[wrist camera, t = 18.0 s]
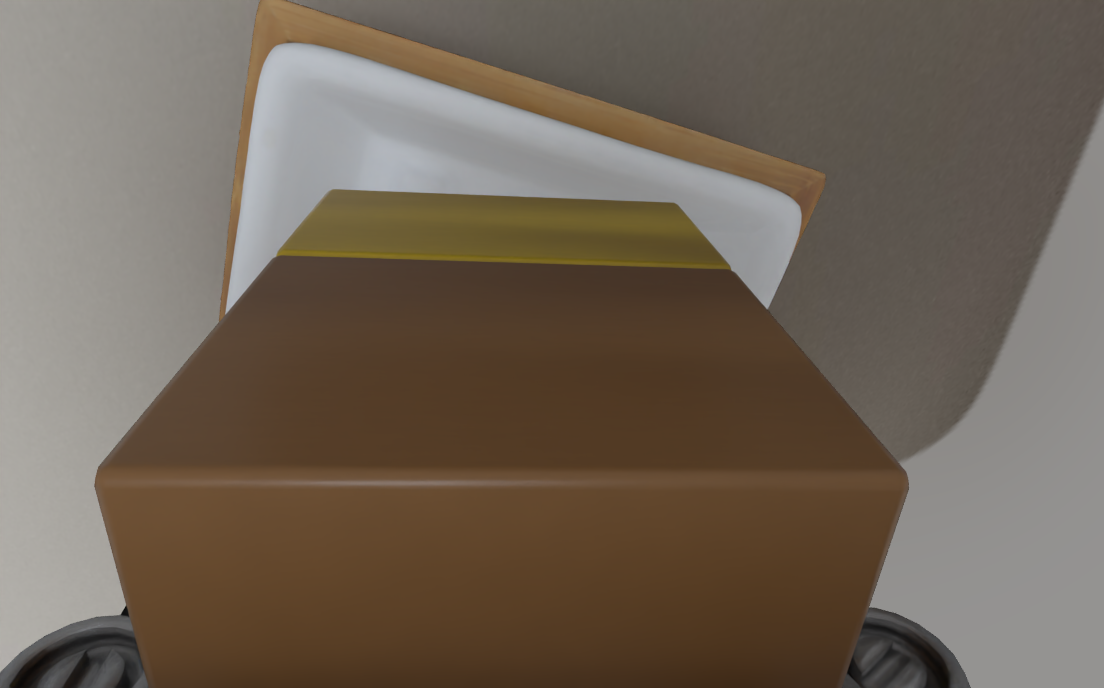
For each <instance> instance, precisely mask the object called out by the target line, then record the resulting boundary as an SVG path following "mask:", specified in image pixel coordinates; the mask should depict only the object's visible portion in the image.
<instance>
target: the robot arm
mask: <svg viewBox="0 0 1104 688" xmlns="http://www.w3.org/2000/svg"><path fill="white" fill-rule="evenodd" d="M0 688H149V687H148V683H147V680H146V676H145V672H144V668H143V665H142V661H141V657H140V654H139V650H138V646H137V642H136V639H135V635H134V631H133V628H132V624H131V620H130V616H129V613H128V609H127V605H126V607H125V608H124V610H123V612H122V613H121V615H117V616H103V617H95V618H91V619H87V620H84V621H80V622H76V623H73V624H70V625H68V626H65V627H63V628H61V629H59V630H57V631H54V632H52V633H50V634H48V635H46V636H44V637H43V638H41V639H40V640H38V641H37V642H35V643H34V644H32V645H31V646H29V647H28V648H26V649H25V650H23V651H22V652H20V653H19V654H18V655H17V656H16V657H15V658H14V659H13V660H12V661H11V662H10V663H9V664H8V665H7V666H6V667H5V668H4V669H3V670H2V671H1V673H0ZM842 688H971V687H970V685H969V682H968V680H967V677H966V675H965V673H964V671H963V670H962V668H961V666H960V664H959V662H958V661H957V659H956V657H955V656H954V654H953V653H952V652H951V651H950V650H949V649H948V648H947V647H946V646H945V645H944V644H943V643H942V642H941V641H940V640H939V639H938V638H937V637H936V636H934V635H933V634H931V633H930V632H929V631H927V630H926V629H925V628H923V627H922V626H920V625H919V624H917V623H915V622H913V621H911V620H909V619H907V618H904V617H903V616H900V615H898V614H896V613H892V612H888V611H885V610H881V609H877V608H869V609H868V612H867V614H866V617H865V620H864V623H863V626H862V629H861V632H860V635H859V638H858V641H857V644H856V647H855V650H854V653H853V656H852V659H851V662H850V665H849V668H848V671H847V674H846V677H845V680H844V683H843V686H842Z"/></svg>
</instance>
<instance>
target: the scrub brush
mask: <svg viewBox="0 0 1104 688" xmlns="http://www.w3.org/2000/svg"><path fill="white" fill-rule="evenodd" d="M95 490H96V494H97V497H98V501H99V505H100V509H101V512H102V516H103V520H104V523H105V527H106V531H107V535H108V538H109V542H110V546H111V549H112V553H113V557H114V561H115V564H116V568H117V572H118V575H119V579H120V583H121V587H122V590H123V594H124V598H125V602H126V605H127V609H128V613H129V616H130V620H131V624H132V628H133V631H134V635H135V639H136V642H137V646H138V650H139V654H140V657H141V661H142V665H143V668H144V672H145V676H146V680H147V683H148V687H149V688H842V686H843V683H844V680H845V677H846V674H847V671H848V668H849V665H850V662H851V659H852V656H853V653H854V650H855V647H856V644H857V641H858V638H859V635H860V632H861V629H862V626H863V623H864V620H865V617H866V614H867V612H868V609H869V606H870V603H871V600H872V597H873V594H874V591H875V588H876V585H877V582H878V579H879V576H880V573H881V570H882V567H883V564H884V561H885V558H886V555H887V552H888V549H889V546H890V543H891V540H892V537H893V534H894V532H895V528H896V525H897V523H898V520H899V517H900V514H901V510H902V508H903V505H904V502H905V499H906V496H907V493H908V490H909V483H908V477H907V473H906V471H905V470H904V469H903V468H902V467H901V465H900V464H899V463H898V462H897V461H896V459H895V458H894V457H893V456H892V455H891V454H890V452H889V451H888V450H887V449H886V448H885V447H884V445H883V444H882V443H881V442H880V441H879V440H878V438H877V437H876V436H875V435H874V434H873V433H872V431H871V430H870V429H869V428H868V427H867V426H866V424H865V423H864V422H863V421H862V420H861V419H860V417H859V416H858V415H857V414H856V413H855V412H854V410H853V409H852V408H851V407H850V406H849V405H848V403H847V402H846V401H845V400H844V399H843V398H842V396H841V395H840V394H839V393H838V392H837V391H836V389H835V388H834V387H833V386H832V385H831V384H830V382H829V381H828V380H827V379H826V378H825V377H824V375H823V374H822V373H821V372H820V371H819V369H818V368H817V367H816V366H815V365H814V364H813V362H812V361H811V360H810V359H809V358H808V357H807V355H806V354H805V353H804V352H803V351H802V350H801V348H800V347H799V346H798V345H797V344H796V343H795V341H794V340H793V339H792V338H791V337H790V336H789V334H788V333H787V332H786V331H785V330H784V329H783V327H782V326H781V325H780V324H779V323H778V322H777V320H776V319H775V318H774V317H773V316H772V315H771V313H770V312H769V311H768V310H767V309H766V308H765V306H764V305H763V304H762V303H761V302H760V301H759V299H758V298H757V297H756V296H755V295H754V294H753V292H752V291H751V290H750V289H749V288H748V287H747V285H746V284H745V283H744V282H743V281H742V280H741V278H740V277H739V276H738V275H737V274H736V273H735V272H734V271H731V267H730V265H729V264H728V262H727V261H726V260H725V259H724V258H723V257H722V255H721V254H720V253H719V252H718V251H717V250H716V249H715V247H714V246H713V245H712V244H711V243H710V242H709V240H708V239H707V238H706V237H705V236H704V235H703V233H702V232H701V231H700V230H699V229H698V228H697V226H696V225H695V224H694V223H693V222H692V221H691V219H690V218H689V217H688V216H687V215H686V214H685V212H684V211H683V210H682V209H681V208H680V207H679V205H677V204H675V203H671V202H646V201H620V200H595V199H570V198H544V197H519V196H494V195H468V194H443V193H418V192H393V191H367V190H342V189H332V190H330V191H328V192H327V193H326V194H325V195H324V197H323V198H322V199H321V200H320V201H319V203H318V204H317V205H316V206H315V207H314V209H313V210H312V211H311V212H310V213H309V215H308V216H307V217H306V218H305V219H304V220H303V222H302V223H301V224H300V225H299V226H298V228H297V229H296V230H295V231H294V232H293V234H292V235H291V236H290V237H289V238H288V240H287V241H286V242H285V243H284V244H283V246H282V247H281V248H280V249H279V250H278V252H277V255H276V257H274V258H272V260H271V261H270V262H269V263H268V264H267V266H266V267H265V268H264V269H263V270H262V272H261V273H260V274H259V275H258V276H257V277H256V279H255V280H254V281H253V282H252V283H251V285H250V286H249V287H248V288H247V289H246V291H245V292H244V293H243V294H242V295H241V297H240V298H239V299H238V300H237V301H236V303H235V304H234V305H233V306H232V307H231V309H230V310H229V311H228V312H227V313H226V315H225V316H224V317H223V318H222V319H221V321H220V322H219V323H218V324H217V325H216V327H215V328H214V329H213V330H212V331H211V333H210V334H209V335H208V336H207V337H206V339H205V340H204V341H203V342H202V343H201V345H200V346H199V347H198V348H197V349H196V351H195V352H194V353H193V354H192V355H191V357H190V358H189V359H188V360H187V361H186V363H185V364H184V365H183V366H182V367H181V369H180V370H179V371H178V372H177V373H176V375H175V376H174V377H173V378H172V379H171V380H170V382H169V383H168V384H167V385H166V386H165V388H164V389H163V390H162V391H161V392H160V394H159V395H158V396H157V397H156V398H155V400H154V401H153V402H152V403H151V404H150V406H149V407H148V408H147V409H146V410H145V412H144V413H143V414H142V415H141V416H140V418H139V419H138V420H137V421H136V422H135V424H134V425H133V426H132V427H131V428H130V430H129V431H128V432H127V433H126V434H125V436H124V437H123V438H122V439H121V440H120V442H119V443H118V444H117V445H116V446H115V448H114V449H113V450H112V451H111V452H110V454H109V455H108V456H107V457H106V458H105V460H104V461H103V462H102V463H101V464H100V466H99V467H98V470H97V474H96V477H95Z"/></svg>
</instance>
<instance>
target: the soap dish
mask: <svg viewBox="0 0 1104 688" xmlns="http://www.w3.org/2000/svg"><path fill="white" fill-rule="evenodd" d="M239 135H240V139H239V144H238V151H237V158H236V166H235V178H234V183H233V192H232V199H231V213H230V222H229V229H228V240H227V251H226V260H225V269H224V280H223V288H222V295H221V305H220V315H219V322H220V321H221V319H222V318H223V317H224V316H225V315H226V313H227V312H228V311H229V310H230V309H231V307H232V306H233V305H234V304H235V303H236V301H237V300H238V299H239V298H240V297H241V295H242V294H243V293H244V292H245V291H246V289H247V288H248V287H249V286H250V285H251V283H252V282H253V281H254V280H255V279H256V277H257V276H258V275H259V274H260V273H261V272H262V270H263V269H264V268H265V267H266V266H267V264H268V263H269V262H270V261H271V260H272V258H274V257H276V255H277V252H278V250H279V249H280V248H281V247H282V246H283V244H284V243H285V242H286V241H287V240H288V238H289V237H290V236H291V235H292V234H293V232H294V231H295V230H296V229H297V228H298V226H299V225H300V224H301V223H302V222H303V220H304V219H305V218H306V217H307V216H308V215H309V213H310V212H311V211H312V210H313V209H314V207H315V206H316V205H317V204H318V203H319V201H320V200H321V199H322V198H323V197H324V195H325V194H326V193H327V192H328V191H330V190H332V189H342V190H367V191H393V192H418V193H443V194H468V195H494V196H519V197H544V198H570V199H595V200H620V201H646V202H671V203H675V204H677V205H679V207H680V208H681V209H682V210H683V211H684V212H685V214H686V215H687V216H688V217H689V218H690V219H691V221H692V222H693V223H694V224H695V225H696V226H697V228H698V229H699V230H700V231H701V232H702V233H703V235H704V236H705V237H706V238H707V239H708V240H709V242H710V243H711V244H712V245H713V246H714V247H715V249H716V250H717V251H718V252H719V253H720V254H721V255H722V257H723V258H724V259H725V260H726V261H727V262H728V264H729V265H730V267H731V271H734V272H735V273H736V274H737V275H738V276H739V277H740V278H741V280H742V281H743V282H744V283H745V284H746V285H747V287H748V288H749V289H750V290H751V291H752V292H753V294H754V295H755V296H756V297H757V298H758V299H759V301H760V302H761V303H762V304H763V305H764V306H765V308H766V309H768V307H769V305H770V303H771V301H772V299H773V297H774V295H775V293H776V290H777V288H778V286H779V284H780V282H781V279H782V277H783V275H784V273H785V270H786V268H787V266H788V264H789V262H790V260H791V257H792V255H793V252H794V251H795V249H796V247H797V244H798V242H799V240H800V238H801V236H802V234H803V232H804V230H805V228H806V226H807V224H808V221H809V219H810V217H811V215H812V212H813V210H814V208H815V206H816V204H817V202H818V200H819V198H820V196H821V193H822V191H823V189H824V186H825V180H826V176H825V174H824V173H822V172H819V171H817V170H814V169H811V168H808V167H805V166H802V165H799V164H796V163H793V162H790V161H786V160H783V159H780V158H777V157H774V156H770V155H767V154H764V153H761V152H758V151H755V150H752V149H749V148H747V147H743V146H740V145H737V144H734V143H731V142H728V141H725V140H722V139H719V138H716V137H713V136H710V135H706V134H704V133H701V132H697V131H694V130H691V129H688V128H685V127H682V126H679V125H676V124H673V123H668V122H665V121H663V120H660V119H657V118H654V117H651V116H648V115H645V114H641V113H638V112H635V111H632V110H629V109H626V108H623V107H620V106H617V105H613V104H610V103H607V102H604V101H601V100H598V99H595V98H592V97H589V96H585V95H581V94H578V93H576V92H573V91H569V90H566V89H564V88H560V87H557V86H553V85H550V84H547V83H544V82H541V81H538V80H535V79H532V78H528V77H525V76H522V75H519V74H516V73H512V72H509V71H506V70H503V69H500V68H497V67H494V66H491V65H488V64H484V63H481V62H478V61H475V60H472V59H468V58H466V57H463V56H460V55H456V54H453V53H449V52H446V51H444V50H441V49H438V48H434V47H431V46H428V45H424V44H422V43H418V42H415V41H412V40H409V39H406V38H403V37H400V36H397V35H393V34H390V33H387V32H383V31H380V30H377V29H374V28H371V27H367V26H364V25H361V24H358V23H355V22H352V21H349V20H345V19H342V18H339V17H336V16H333V15H330V14H327V13H324V12H321V11H318V10H314V9H311V8H308V7H305V6H302V5H299V4H296V3H293V2H290V1H286V0H260V2H259V5H258V10H257V14H256V19H255V26H254V32H253V39H252V47H251V56H250V65H249V68H248V78H247V84H246V91H245V97H244V105H243V111H242V121H241V129H240V132H239Z"/></svg>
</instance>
